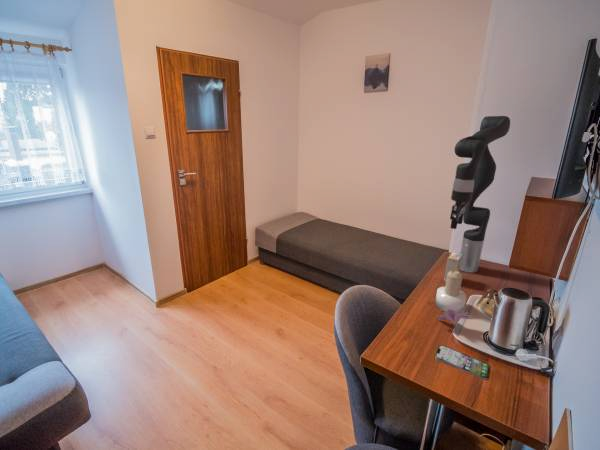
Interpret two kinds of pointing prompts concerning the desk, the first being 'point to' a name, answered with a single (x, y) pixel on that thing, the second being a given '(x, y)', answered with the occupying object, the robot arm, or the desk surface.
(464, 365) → the smartphone
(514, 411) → the desk surface
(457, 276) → the candle
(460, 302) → the glossy white dome
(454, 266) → the supplement box
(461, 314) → the lily
